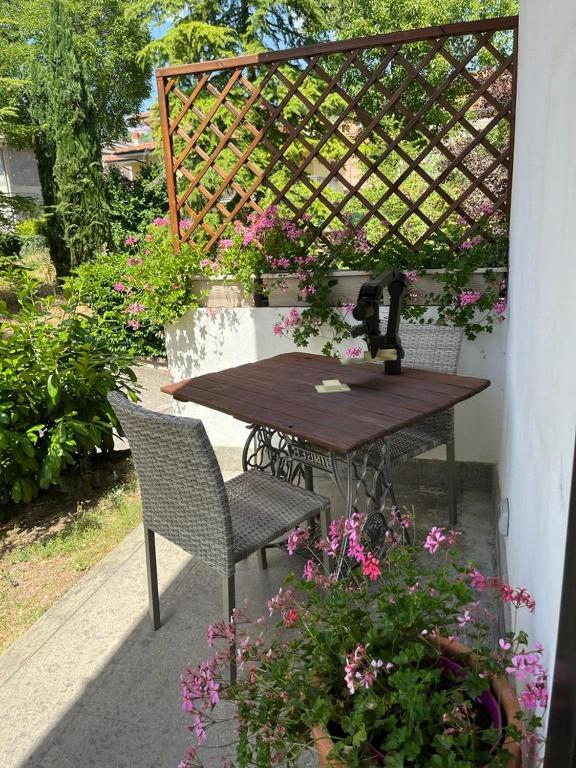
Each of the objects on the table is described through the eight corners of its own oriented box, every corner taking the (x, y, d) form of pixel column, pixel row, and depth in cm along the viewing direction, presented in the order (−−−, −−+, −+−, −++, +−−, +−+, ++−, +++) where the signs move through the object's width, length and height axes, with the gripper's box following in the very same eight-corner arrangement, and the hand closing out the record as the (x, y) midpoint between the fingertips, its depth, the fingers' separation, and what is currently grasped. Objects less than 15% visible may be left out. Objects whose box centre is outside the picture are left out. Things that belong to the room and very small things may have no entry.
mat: (345, 384, 217) (345, 383, 217) (350, 390, 209) (350, 389, 209) (315, 386, 216) (315, 385, 216) (318, 393, 208) (318, 392, 208)
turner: (393, 356, 218) (393, 347, 217) (398, 360, 211) (398, 351, 211) (339, 360, 217) (339, 351, 216) (342, 364, 210) (342, 355, 209)
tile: (337, 379, 217) (341, 385, 210) (337, 383, 218) (341, 389, 210) (322, 380, 217) (325, 386, 209) (322, 384, 217) (325, 390, 210)
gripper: (345, 314, 218) (346, 354, 222) (355, 322, 200) (356, 364, 204) (373, 312, 219) (374, 352, 223) (386, 320, 201) (386, 362, 205)
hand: (372, 357), depth 214 cm, fingers closed on turner, 3 cm apart
